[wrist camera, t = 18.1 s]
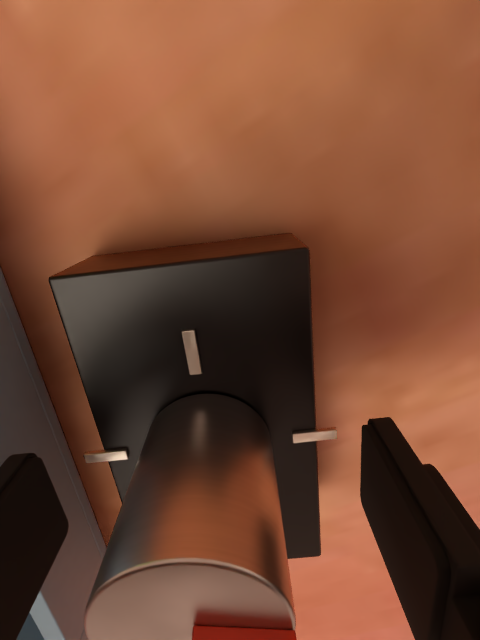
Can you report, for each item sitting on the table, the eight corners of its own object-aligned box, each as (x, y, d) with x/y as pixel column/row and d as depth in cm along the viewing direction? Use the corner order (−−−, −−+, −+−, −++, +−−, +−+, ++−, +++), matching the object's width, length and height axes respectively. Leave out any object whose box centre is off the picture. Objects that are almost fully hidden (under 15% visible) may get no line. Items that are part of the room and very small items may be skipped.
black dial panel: (73, 257, 12) (20, 281, 9) (309, 230, 12) (334, 245, 9) (147, 507, 16) (127, 578, 13) (319, 491, 16) (338, 560, 13)
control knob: (147, 486, 12) (83, 706, 7) (147, 387, 10) (65, 574, 5) (262, 494, 12) (282, 712, 7) (279, 397, 10) (318, 588, 5)
